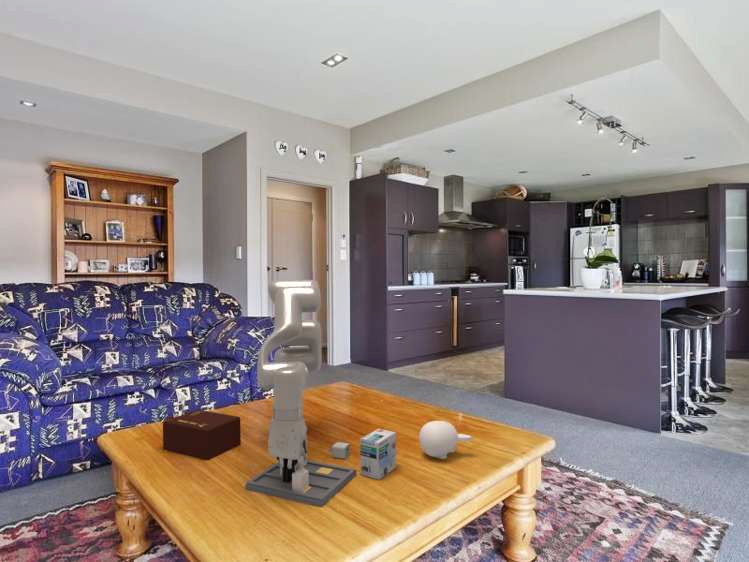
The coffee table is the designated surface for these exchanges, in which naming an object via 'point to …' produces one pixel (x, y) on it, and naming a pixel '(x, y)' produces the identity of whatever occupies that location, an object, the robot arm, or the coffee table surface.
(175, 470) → the coffee table surface
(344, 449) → the usb wall charger
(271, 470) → the switch bank
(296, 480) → the tab
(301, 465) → the tab
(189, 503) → the coffee table surface
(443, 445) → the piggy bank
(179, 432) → the box
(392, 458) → the light bulb box
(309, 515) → the coffee table surface
